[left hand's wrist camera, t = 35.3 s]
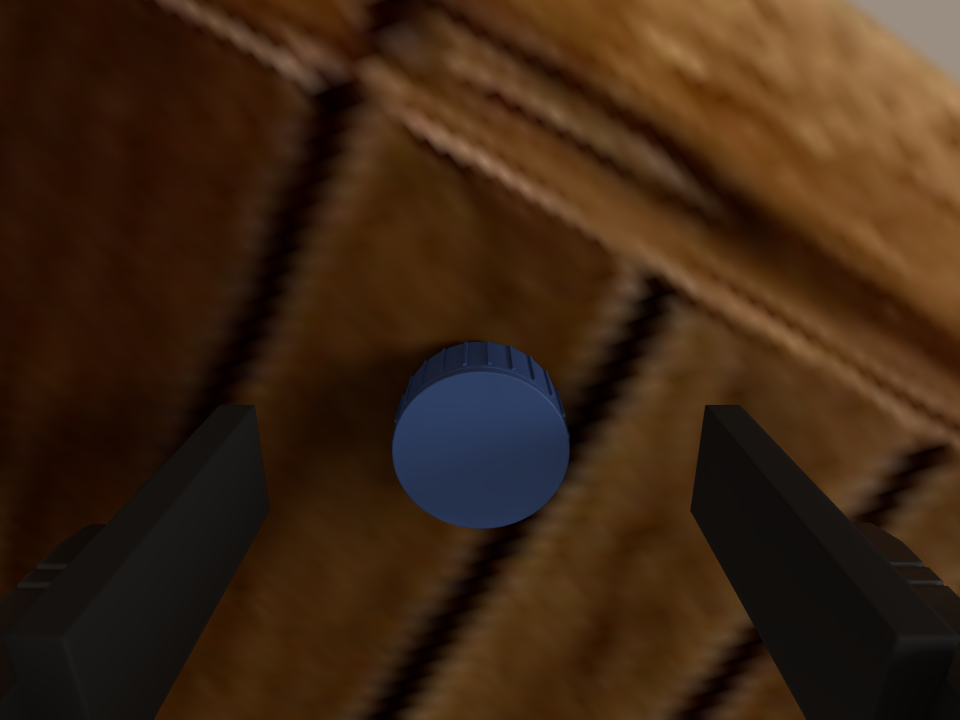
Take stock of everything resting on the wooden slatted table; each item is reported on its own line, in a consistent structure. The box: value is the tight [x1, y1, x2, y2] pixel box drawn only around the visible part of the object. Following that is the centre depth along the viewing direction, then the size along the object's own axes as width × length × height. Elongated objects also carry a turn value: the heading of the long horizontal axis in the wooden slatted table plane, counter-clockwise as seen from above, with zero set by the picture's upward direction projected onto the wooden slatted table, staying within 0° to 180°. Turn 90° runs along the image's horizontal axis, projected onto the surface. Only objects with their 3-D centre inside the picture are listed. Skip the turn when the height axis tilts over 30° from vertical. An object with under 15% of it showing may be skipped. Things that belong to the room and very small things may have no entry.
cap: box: [392, 341, 570, 529], centre depth 15 cm, size 4×4×2 cm
